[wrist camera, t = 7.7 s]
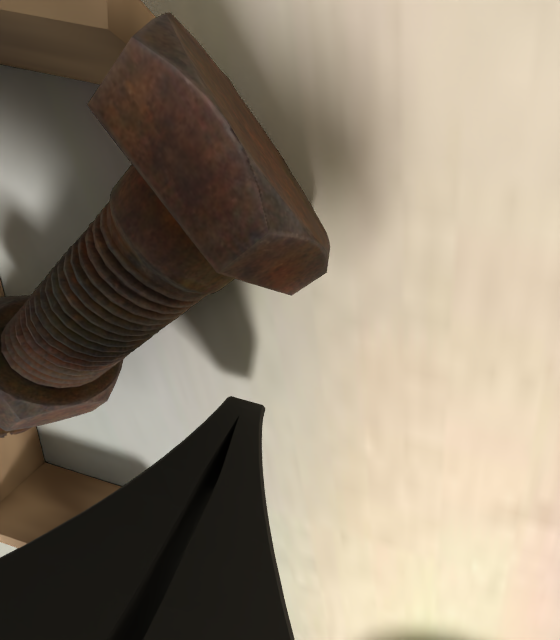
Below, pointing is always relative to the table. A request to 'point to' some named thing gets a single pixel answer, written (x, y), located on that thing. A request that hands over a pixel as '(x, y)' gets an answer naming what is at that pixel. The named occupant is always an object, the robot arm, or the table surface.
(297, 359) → the table surface
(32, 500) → the frame
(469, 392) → the table surface
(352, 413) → the table surface
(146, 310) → the bolt
